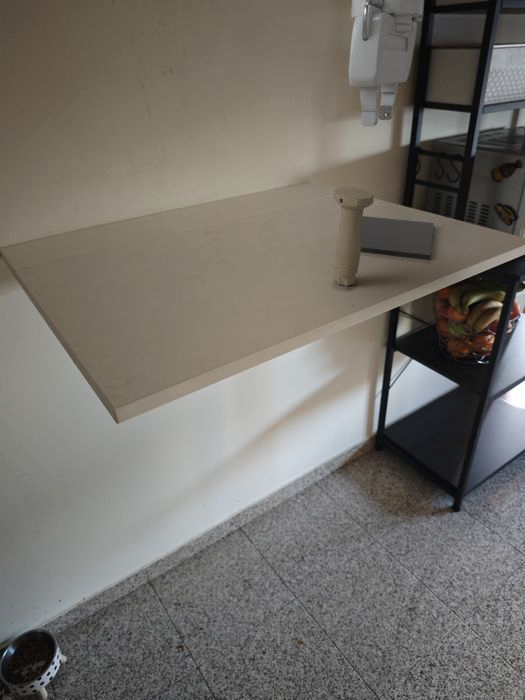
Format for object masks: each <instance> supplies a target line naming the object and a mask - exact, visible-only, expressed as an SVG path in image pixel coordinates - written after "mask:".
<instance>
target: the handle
mask: <svg viewBox="0 0 525 700" xmlns="http://www.w3.org/2000/svg"><path fill="white" fill-rule="evenodd" d="M333 199H334V201H335V202H336V203H337V204H338V205H339V206H340V207H341V208H340V209H341V210H340V211H341V212H340V220H339V227H338V234H337V240H336V247H335V260H334V261H335V263H334V265H335V280H336V283H337V284H338V285H341V286H345V287H349V286H351V285H354V284H355V283H356V279H357V277H356V275H357V273H358V270H359V265H360V258H361V253H362V252H361V233H362V216H364V215H363V214H364V209H366V208H368V207H370V206H372V205H373V204H374V200H375V194H374V193H373V192H371V191H369V190H366V189H363V188H359V187H353V186H341V187H338V188H335V189H334V190H333Z"/></svg>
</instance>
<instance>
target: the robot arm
mask: <svg viewBox="0 0 525 700" xmlns="http://www.w3.org/2000/svg"><path fill="white" fill-rule="evenodd" d="M424 3H425V0H351V9H350V10H351V11H350V19H351V20H353V25H352V26H353V27H352V30H351V31H352V32H351V38H350V40H351V41H350V51H349V61H348V62H349V63H348V81H349V86H350V87H352V88H360V91H359V100H360V107H361V125H362V126H363V127H374V126H376V125H377V124H378V121H379V120H380V121H389V120H391V119H392V118H393V115H394V106H395V103H396V99H397V96H398V92H399V91H398V88H399V84H402V83H403V84H404V83H406V82H407V80H408V79H409V75H410V71H411V66H412V61H413V56H414V49H415V44H416V36H417V31H418V30H417V29H418V24H417V22H421V21H422V20H423V16H424V7H425V5H424ZM380 93H381V97H380ZM379 97H380V105H378V104H379V103H378V101H379Z"/></svg>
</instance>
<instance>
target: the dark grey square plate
mask: <svg viewBox="0 0 525 700" xmlns="http://www.w3.org/2000/svg"><path fill="white" fill-rule="evenodd" d="M434 225H435V222H427V221H419V220H409V219H408V220H407V219H398V218H397V219H396V218H387V217H377V216H367V215H366V216H365V215H363V216H362V233H361V252H360V253H368V254H375V255H376V254H377V255H383V256H384V255H385V256H394V257H402V258H411V259H417V260H418V259H419V260H428V261H429V260H430V258H431V252H432V243H433V234H434V227H435V226H434Z"/></svg>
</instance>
